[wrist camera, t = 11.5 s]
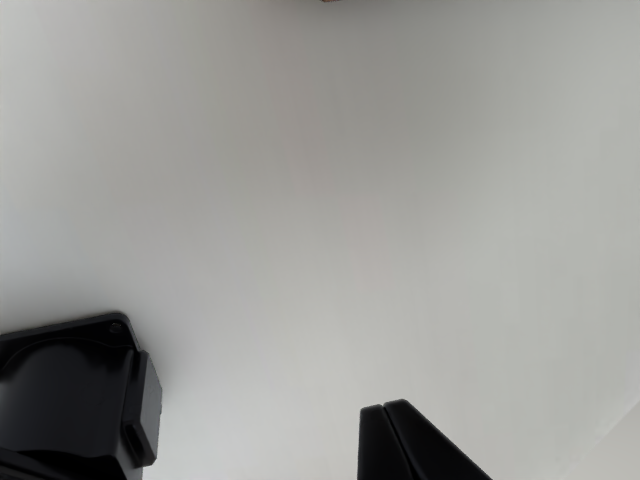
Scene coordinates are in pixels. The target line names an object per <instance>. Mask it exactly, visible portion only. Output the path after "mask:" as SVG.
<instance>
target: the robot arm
mask: <svg viewBox="0 0 640 480" xmlns="http://www.w3.org/2000/svg"><path fill="white" fill-rule="evenodd" d="M114 323H118V324H120V325H121V326H113V325H112V324H114ZM161 399H162V388H161V385H160V382H159V380H158V377H157V374H156V372H155V369H154V366H153V364H152V361H151V358H150V356H149V353H147V352H146V351H144V350H140V347H139V345H138V342H137V339H136V337H135V334H134V332H133V329H132V326H131V324H130V321H129V319H128V318H127V316H125V315H124V314H120V313H112V314H107V315H102V316H97V317H92V318H87V319H82V320H77V321H72V322H67V323H62V324H57V325H51V326H46V327H41V328H36V329H31V330H26V331H21V332H16V333H11V334H6V335H1V336H0V480H142V473H143V467H146V466H150V465H152V464H153V463H154V462H155V460H156V459H157V448H158V436H159V423H160V414H161V408H162V405H161ZM357 480H492V479H491V478H490V477H489V476H488V475H487V474H486V473H485V472H484V471H483V470H482V469H481V468H479V467H478V466H477V465H476V464H475V463H474V462H473V461H472V460H471V459H470V458H469V457H468V456H467V455H465V454H464V453H463V452H462V451H461V450H460V449H459V448H458V447H457V446H456V445H455V444H454V443H452V442H451V441H450V440H449V439H448V438H447V437H446V436H445V435H444V434H443V433H442V432H441V431H440V430H438V429H437V428H436V427H435V426H434V425H433V424H432V423H431V422H430V421H429V420H428V419H427V418H425V417H424V416H423V415H422V414H421V413H420V412H419V411H418V410H417V409H416V408H415V407H414V406H413V405H411V404H410V403H409V402H408V401H407V400H405V399H399V400H395V401H390V402H386V403H385V404H384V405H383V406H382V405H380V404H377V405H373V406H369V407H365V408H362V409H361V411H360V424H359V448H358V471H357Z"/></svg>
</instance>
